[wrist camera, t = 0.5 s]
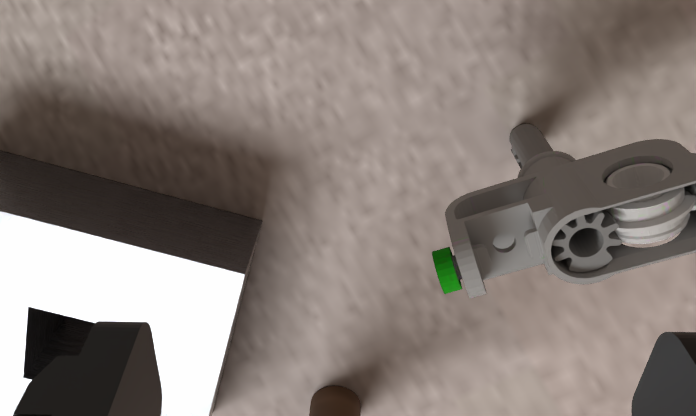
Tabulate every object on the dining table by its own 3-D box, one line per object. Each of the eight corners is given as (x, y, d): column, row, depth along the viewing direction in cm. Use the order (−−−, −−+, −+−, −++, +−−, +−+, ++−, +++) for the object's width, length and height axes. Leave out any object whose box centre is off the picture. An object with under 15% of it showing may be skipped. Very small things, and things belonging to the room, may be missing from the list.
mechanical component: (412, 145, 30) (429, 254, 21) (630, 74, 28) (748, 161, 20) (430, 197, 32) (453, 321, 23) (640, 133, 30) (755, 240, 21)
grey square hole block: (-16, 146, 31) (-80, 190, 27) (262, 220, 32) (244, 274, 28) (-21, 358, 37) (-74, 422, 33) (212, 413, 39) (191, 482, 34)
